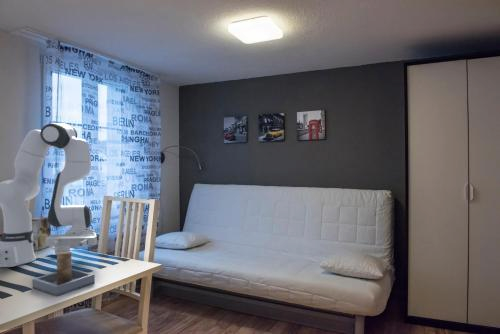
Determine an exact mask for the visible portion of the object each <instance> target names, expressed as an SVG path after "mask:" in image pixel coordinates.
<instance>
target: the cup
mask: <svg viewBox="0 0 500 334" xmlns="http://www.w3.org/2000/svg"><path fill="white" fill-rule="evenodd" d="M49 249H51V250H53V251H54V254H55V255H56V256H57V253H60V252H71V247H69V246H59V247H55V246H49Z"/></svg>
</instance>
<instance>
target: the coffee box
mask: <svg viewBox="0 0 500 334" xmlns="http://www.w3.org/2000/svg"><path fill="white" fill-rule="evenodd" d="M51 229H52V228H51V224H49V223H48V220H47V217H46V216H39V217H35V218H32V230H33V249H34V251H39V250H42V249H45V248H48V247H49V248H50V246H46V238H47V237H49V236H51V235H52V234H51V233H52V232H51V231H52V230H51Z"/></svg>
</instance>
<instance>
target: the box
mask: <svg viewBox="0 0 500 334" xmlns="http://www.w3.org/2000/svg"><path fill="white" fill-rule="evenodd" d="M95 277H96V276H95V273H91V272H88V271H84V270H80V269H76V268H73V267H72V281H69V282H66V283H63V284H60V285H57V271H55V272H51V273H49V274H48V273H47V274H45V275H42V276H38V277H34V278H32V282H31V283H32V289H34V290H36V291H40V292H43V293H46V294H47V295H51V296H54V297H60V296H62V295H65V294H68V293H71V292H73V291H76V290H79V289H82V288H85V287H87V286H90V285H94V284H95Z"/></svg>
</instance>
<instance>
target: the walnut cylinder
mask: <svg viewBox="0 0 500 334" xmlns="http://www.w3.org/2000/svg"><path fill="white" fill-rule="evenodd" d="M72 265H73V264H72V252H71V251H70V252H60V253H57V255H56V272H57V285H60V284H63V283H66V282H69V281H72V268H73V267H72Z"/></svg>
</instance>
